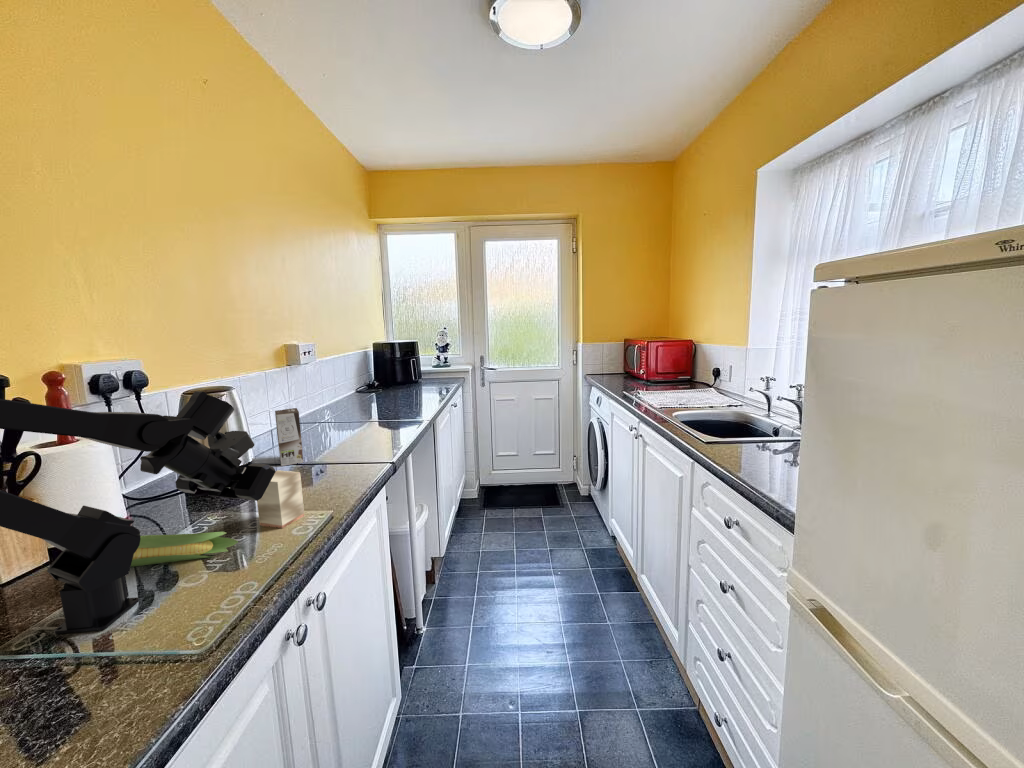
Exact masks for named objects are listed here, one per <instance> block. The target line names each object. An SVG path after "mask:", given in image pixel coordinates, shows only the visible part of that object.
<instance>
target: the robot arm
mask: <svg viewBox="0 0 1024 768" xmlns="http://www.w3.org/2000/svg"><path fill="white" fill-rule="evenodd" d="M234 411H235V408H234V406H233V405H231V404H230V403H229V402H228V401H226V400H223V399H220V398H218V397H215V396H213V395H210V394H208V393H206V392H205V391H196V390H195V391H194V392H193V393H192V394H191V396H190V398H189V400H188V401H187V402H186V404H185V405H184V406H183V408H182V409H181V410H180V411H179V412H178V413H177V415H176V416H175V415H161V414H158V413H146V412H145V413H144V412H136V411H135V412H133V411H131V412H130V411H86V410H78V409H73V408H65V407H59V406H52V405H46V404H38V403H32V402H25V401H20V400H11V399H4V398H0V430H6V431H7V430H9V431H18V432H27V433H28V432H29V433H35V434H36V433H37V434H38V433H39V434H46V435H48V434H49V435H57V436H65V437H67V436H68V437H74V438H82V439H84V440H85V439H86V440H90V441H94V442H96V443H100V444H105V445H108V446H111V447H112V446H113V447H115V448H120V449H124V450H125V449H126V450H133V451H138V452H139V451H140V452H145V453H146V452H148V454H147V455H143V456H142V455H141V456H140V457H139V459H140V468H139V469H140V472H142V473H148V474H152V475H159V473H160V472H161V471H162V470H163V468H166V469H168V470H169V471H172V472H173V473H176V474H177V475H178V476H177V479H176V481H175V487H176V490H179V491H181V492H183V493H184V494H185V493H186V494H195V493H196V492H197V489H200V490H203V491H208V494H207V495H208V496H209V497H217V498H226V499H235V500H239V499H243V500H246V501H247V500H249V501H255V502H257V501H258V500H259V499H261V498H262V496H263V494H264V492H265V491H266V489H267V487H268V485H269V483H270V481H271V480H272V478H273V476H274V474H275V472H276V471H277V470H276V468H275V467H273V466H271V465H270V464H268V463H267V464H265V463H251V464H247V466H241V464H242V461H243V460H241V457H243V455H245V454H246V453H247V452H248V451H249V450H250V449H253V448H254V447H255V445H256V444H255V443H254V441H253V440H252V438H251V436H250V434H249V433H248V431H245V430H230V431H225V432H224V433H223V432H220V430H221V429H222V428H223V426H224V425H225V424H226V422H227V421H228V419H229V418H230V417H231V415H232V414H234V413H233V412H234ZM206 438H207V446H206V445H204V444H203V443H201V442H199V441H198V440H206ZM196 439H198V440H196ZM208 446H209V447H208ZM195 484H196V485H197V487H196V488H197V489H196V488H194V487H193V486H194V485H195ZM134 523H135V520H134V519H133V520H132V519H129V518H125V517H121V516H116V515H114V514H113V513H111V512H109V511H108V510H104V509H101V508H97V507H92V506H88V505H82V506H81V508H80V510H79V511H78V513H77V514H76V513H70V512H65V511H61V510H59V509H56V508H53V507H50V506H48V505H46V504H45V505H44V504H42V503H40V502H35V501H34V500H30V499H27V498H25V497H21V496H20V495H16V494H13V493H10V492H7V491H4V490H2V489H0V527H1V528H4V529H8V530H12V531H15V532H17V533H21V534H25V535H28V536H32V537H35V538H38V539H41V540H43V541H44V542H46V543H48V544H50V545H51V546H53V547H55V548H57V549H58V550H60V551H61V552H60V553H59V555H58V556H57V557H56V558H55V560H54V561H52V563H51V564H50V566H48V568H47V569H46V571H47V573H48V574H49V575H50V576H51V577H52V578H53V579H54V580H55V581H59V582H61V583H63V586H62V587H63V588H62V589H60V590H59V595H60V596H59V597H60V600H61V606H62V612H63V617H64V622H63V623H62V624H60V625H58V627H56V628H55V629H54V630H53V632H54V634H55V635H57V634H69V633H70V634H71V633H82V632H83V633H84V632H92V631H102V630H105V629H107V628H108V627H109V626H110V625H112V624H113V623H114V622H116V621H117V620H118V619H120V618H121V617H122V616H123V615H124V614H125V613H126V612H128V611H129V610H130V609H132V607H134V606H135V605H136V604H137V603H138V602H140V598H139V596H138V597H129V589H128V584H127V583H128V582H127V578H126V576H127V575H129V573H130V570H131V563H132V559H133V555H134V553H135V552H136V550H137V548H138V547H139V544H140V540H141V538H140V536H141V530H139V529H138V528H137V527H135V526H133V525H132V524H134Z"/></svg>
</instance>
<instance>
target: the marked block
mask: <svg viewBox="0 0 1024 768" xmlns="http://www.w3.org/2000/svg"><path fill="white" fill-rule="evenodd" d="M275 471H276V472H275V474H274V476H273V478H272V480H271V481H270V483H269V485H268V487H267V489H266V491H265V492H264V494H263V496H262V498H261V499H259V500H258V501H256V504H257V513H258V514H257V515H258V521H259V526H263V527H269V526H270V528H276V527H278V529H284V528H286V527H287V525H288V526H289V525H291V524H293V523H295V522H297V521H298V520H299V519H302V518H303V517H305V506H304V499H303V498H304V497H303V489H302V488H303V487H302V486H303V485H302V480H301V479H302V478H301V471H290V470H280V469H278V470H275ZM294 521H295V522H294ZM292 522H293V523H292Z"/></svg>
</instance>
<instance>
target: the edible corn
mask: <svg viewBox="0 0 1024 768" xmlns="http://www.w3.org/2000/svg"><path fill="white" fill-rule="evenodd" d="M226 534H227V532H225V531H215V532H214V531H213V532H200V533H199V532H196V533H179V534H178V533H175V534H147V535H145V534H144V535H140V538H141V540H140V544H139V547H138V548H137V550H136V552H135V553H134V555H133V559H132V563H131V567H133V568H134V567H142V566H149V565H156V564H164V563H165V564H166V563H173V562H182V561H191V560H192V561H193V560H201V559H209V558H212V556H209V555H206V554H215V553H223V552H229V550H228V549H227V548H230V547H233V546H235V545H237V544H238V543H239V541H238V540H236V539H234V538H230V537H223V536H224V535H226ZM131 567H130V568H131Z"/></svg>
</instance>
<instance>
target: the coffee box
mask: <svg viewBox="0 0 1024 768" xmlns="http://www.w3.org/2000/svg"><path fill="white" fill-rule="evenodd" d="M274 413H275V414H274V415H275V425H276V433H277V436H276V437H277V443H278V453H279V459H280V461H279V462H280V466H281V467H285V466H289V465H290V466H291V465H297V463H298V464H303V463H304V454H303V441H302V433H301V431H302V430H301V422H300V421H301V420H300V411H299V410H298V408H297V407H293V408H286V409H279V410H275V411H274Z"/></svg>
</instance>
